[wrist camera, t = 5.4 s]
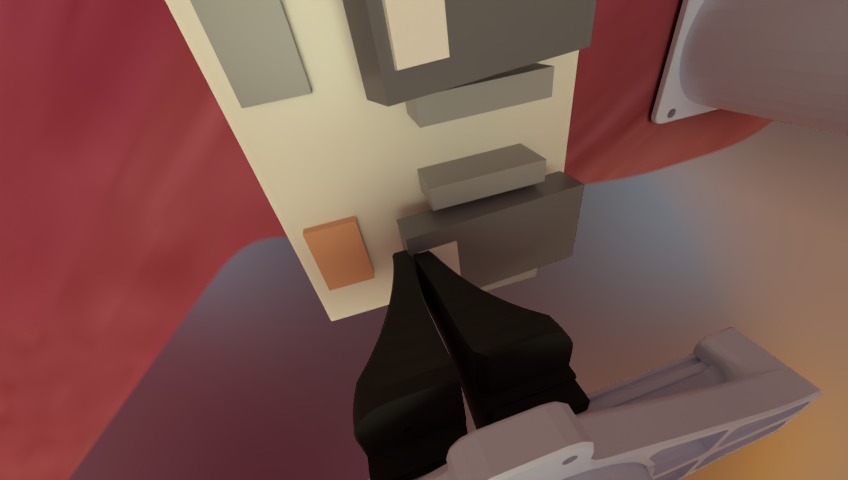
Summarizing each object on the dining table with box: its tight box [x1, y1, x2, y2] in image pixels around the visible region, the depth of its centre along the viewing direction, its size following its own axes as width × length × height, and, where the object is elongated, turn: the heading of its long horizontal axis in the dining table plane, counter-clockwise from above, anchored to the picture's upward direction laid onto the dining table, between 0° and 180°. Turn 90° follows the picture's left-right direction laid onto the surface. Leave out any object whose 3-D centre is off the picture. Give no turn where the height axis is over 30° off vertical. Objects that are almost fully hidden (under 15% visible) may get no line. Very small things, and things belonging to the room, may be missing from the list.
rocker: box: [396, 171, 584, 307], centre depth 14 cm, size 8×4×2 cm, turn 99°
